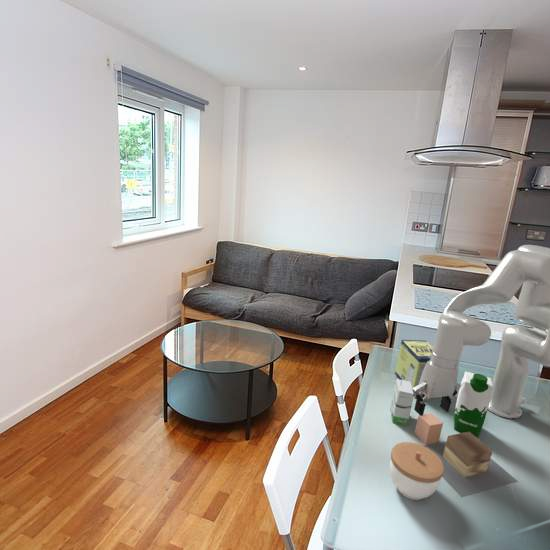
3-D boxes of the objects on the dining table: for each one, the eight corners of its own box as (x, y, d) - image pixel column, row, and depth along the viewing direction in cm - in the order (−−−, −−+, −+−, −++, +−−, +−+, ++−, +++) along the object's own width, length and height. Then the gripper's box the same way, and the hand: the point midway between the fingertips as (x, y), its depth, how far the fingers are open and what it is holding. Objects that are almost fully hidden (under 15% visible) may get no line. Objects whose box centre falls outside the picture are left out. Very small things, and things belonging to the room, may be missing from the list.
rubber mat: (465, 438, 120) (466, 437, 120) (517, 482, 104) (518, 481, 104) (414, 448, 113) (414, 447, 113) (461, 498, 97) (461, 496, 97)
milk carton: (450, 431, 123) (465, 376, 117) (451, 416, 131) (464, 363, 125) (481, 441, 119) (497, 384, 114) (479, 425, 127) (494, 371, 122)
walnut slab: (466, 441, 112) (469, 431, 111) (489, 461, 105) (492, 450, 104) (445, 446, 110) (447, 435, 109) (467, 466, 102) (470, 455, 101)
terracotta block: (426, 431, 121) (431, 413, 119) (438, 442, 117) (443, 423, 115) (414, 434, 120) (418, 415, 118) (425, 445, 115) (429, 425, 113)
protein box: (417, 374, 157) (425, 339, 153) (438, 396, 142) (447, 358, 138) (394, 374, 155) (401, 339, 151) (412, 396, 141) (420, 358, 136)
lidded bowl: (431, 518, 90) (441, 480, 87) (379, 492, 96) (386, 455, 93) (440, 484, 101) (449, 449, 98) (392, 462, 107) (400, 429, 104)
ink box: (407, 426, 123) (415, 394, 120) (392, 423, 124) (398, 391, 120) (404, 411, 131) (411, 380, 128) (389, 408, 132) (396, 377, 129)
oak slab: (463, 451, 113) (466, 441, 112) (486, 471, 106) (489, 461, 105) (442, 456, 111) (445, 446, 110) (464, 477, 103) (467, 466, 102)
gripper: (457, 352, 117) (444, 401, 122) (411, 355, 111) (400, 406, 115) (477, 364, 110) (462, 415, 115) (429, 368, 104) (416, 422, 109)
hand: (431, 411), depth 115 cm, fingers open, 9 cm apart
